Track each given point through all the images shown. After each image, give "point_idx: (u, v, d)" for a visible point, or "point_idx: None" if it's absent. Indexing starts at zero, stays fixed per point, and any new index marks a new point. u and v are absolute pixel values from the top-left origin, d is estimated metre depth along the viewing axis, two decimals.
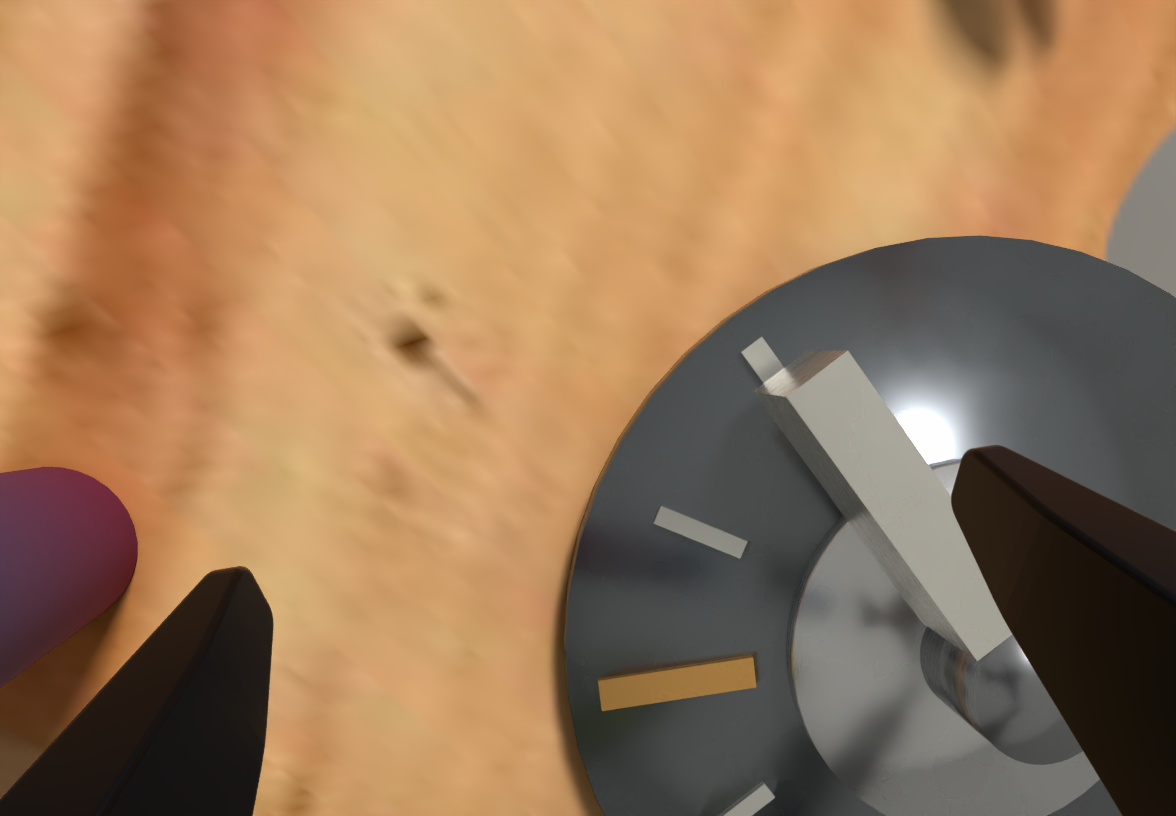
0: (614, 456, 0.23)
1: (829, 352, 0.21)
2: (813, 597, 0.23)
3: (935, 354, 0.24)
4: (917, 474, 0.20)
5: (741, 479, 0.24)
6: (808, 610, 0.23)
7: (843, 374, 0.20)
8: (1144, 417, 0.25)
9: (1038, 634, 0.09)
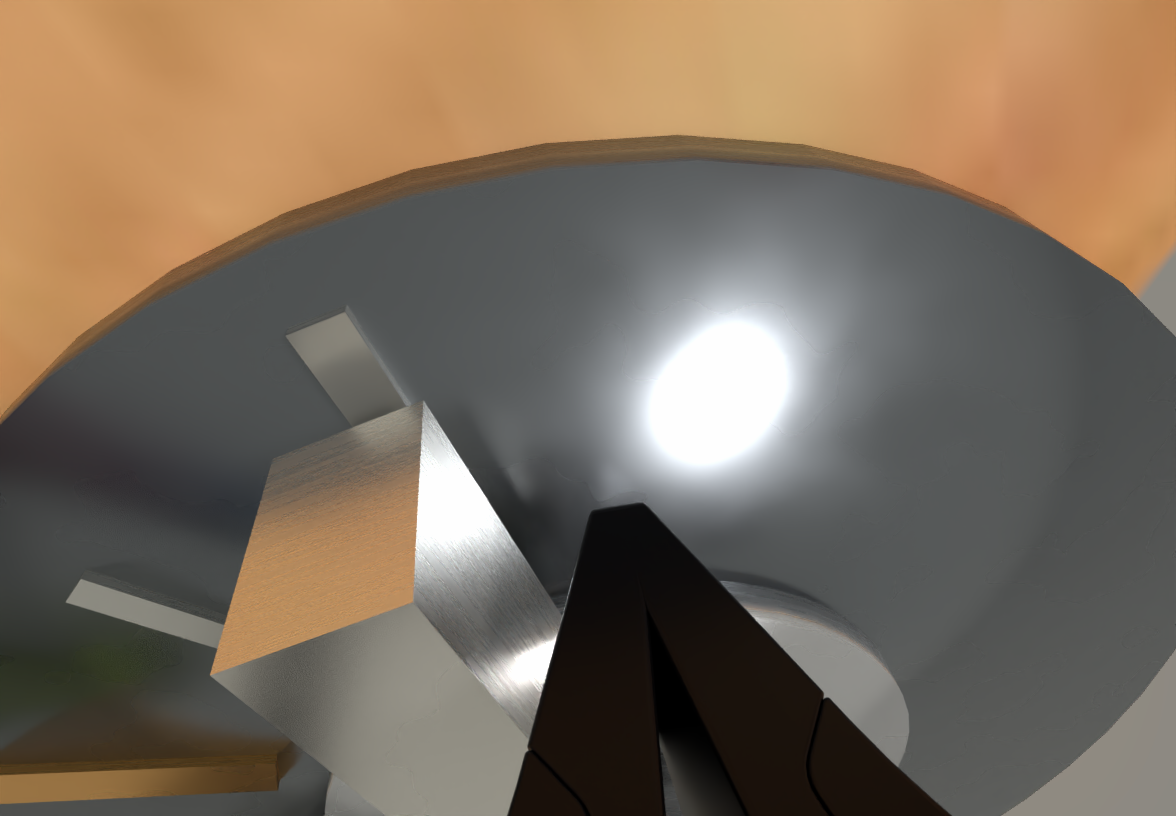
0: None
1: (409, 520, 0.07)
2: None
3: (739, 411, 0.11)
4: None
5: None
6: None
7: (390, 645, 0.07)
8: (1029, 555, 0.14)
9: None
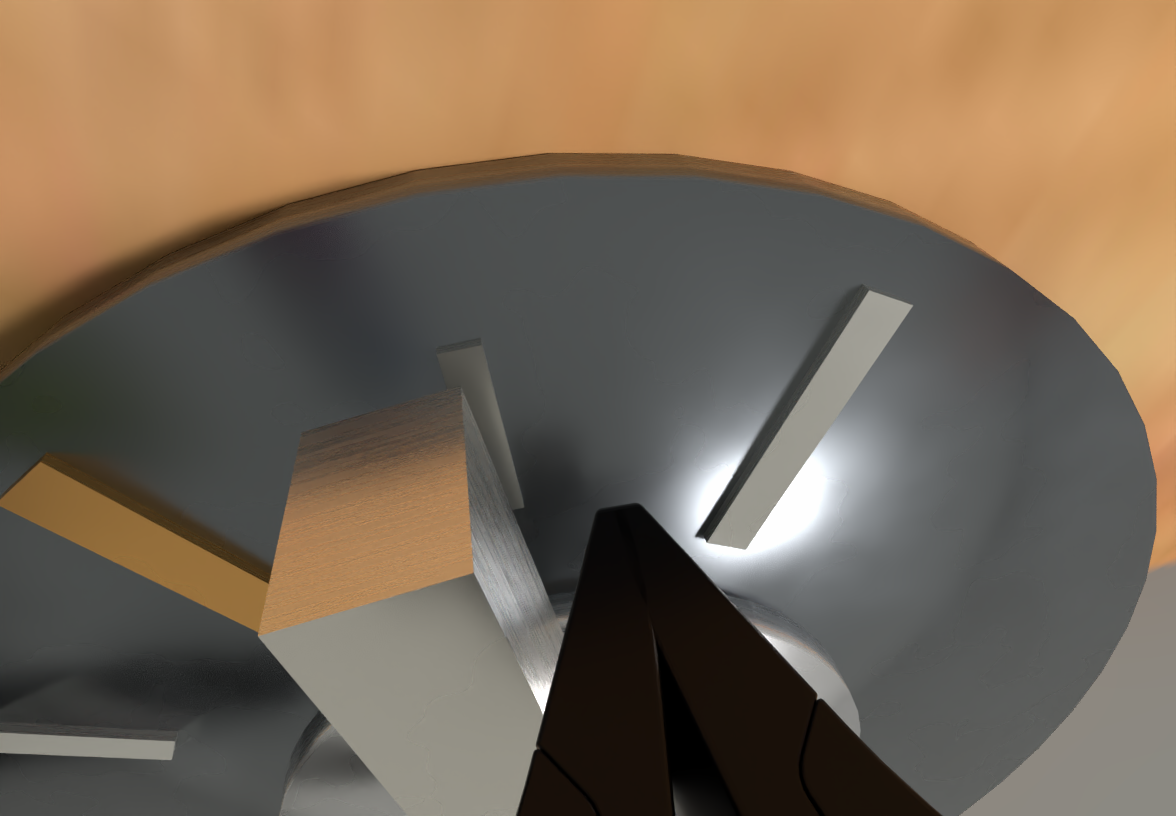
0: (515, 184, 0.09)
1: (460, 496, 0.08)
2: (340, 741, 0.13)
3: (957, 532, 0.14)
4: None
5: (623, 429, 0.11)
6: (327, 754, 0.13)
7: (441, 615, 0.07)
8: (943, 729, 0.19)
9: None
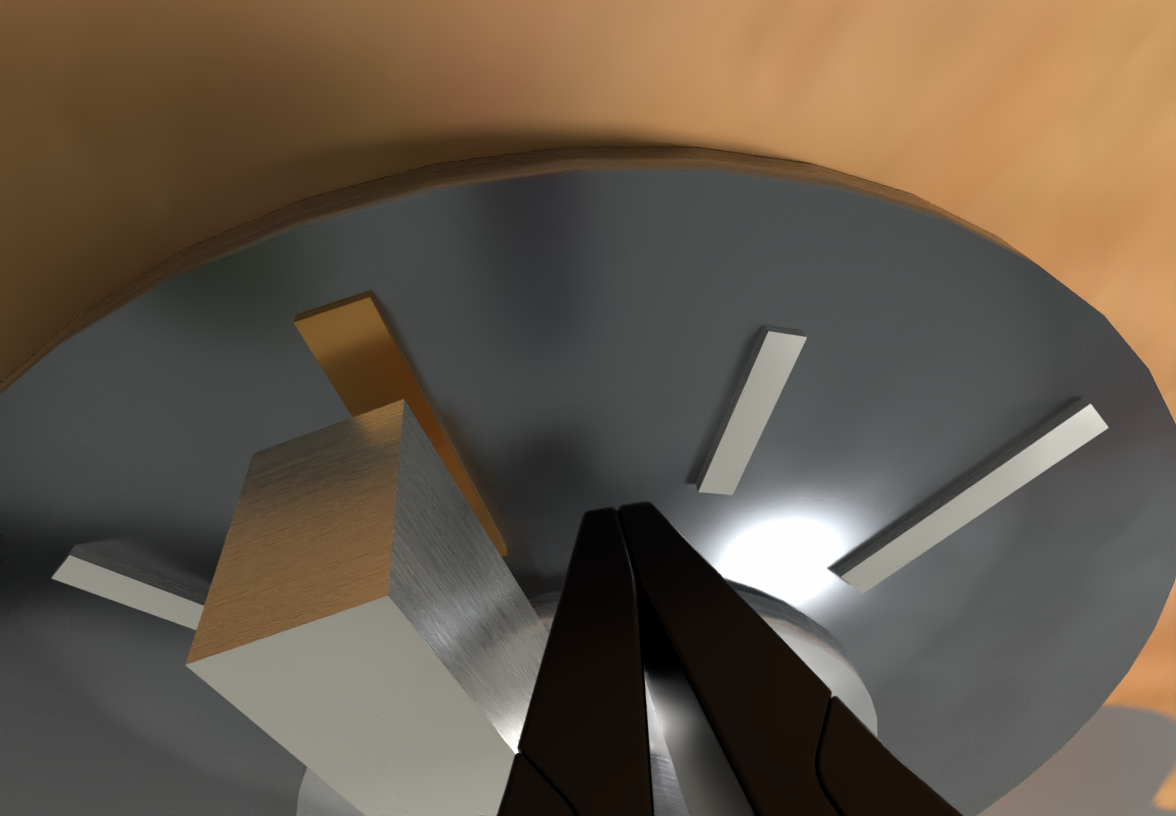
0: (916, 212, 0.10)
1: (386, 515, 0.08)
2: None
3: (1006, 629, 0.16)
4: None
5: (844, 453, 0.12)
6: None
7: (365, 637, 0.07)
8: None
9: (658, 702, 0.08)
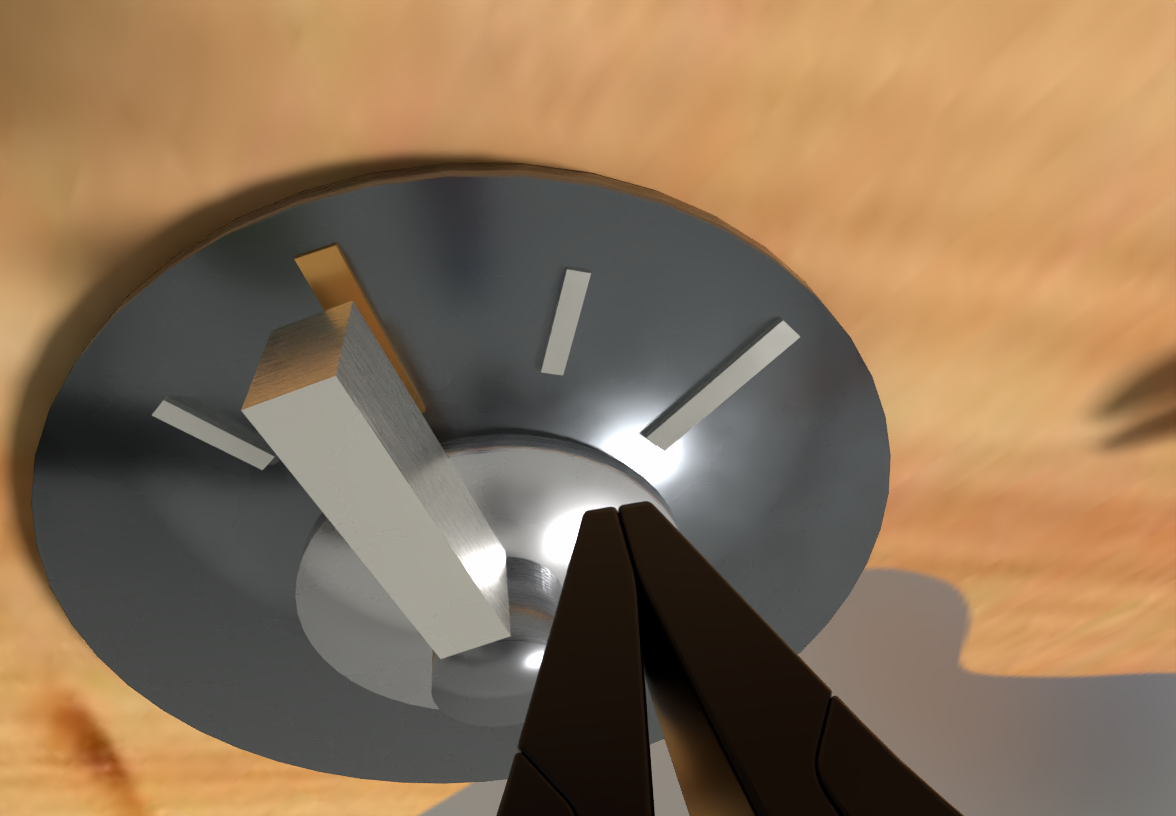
0: (644, 200, 0.18)
1: (338, 348, 0.15)
2: (325, 537, 0.21)
3: (777, 487, 0.24)
4: (407, 511, 0.17)
5: (633, 350, 0.20)
6: (318, 546, 0.21)
7: (326, 400, 0.15)
8: None
9: (658, 701, 0.08)
